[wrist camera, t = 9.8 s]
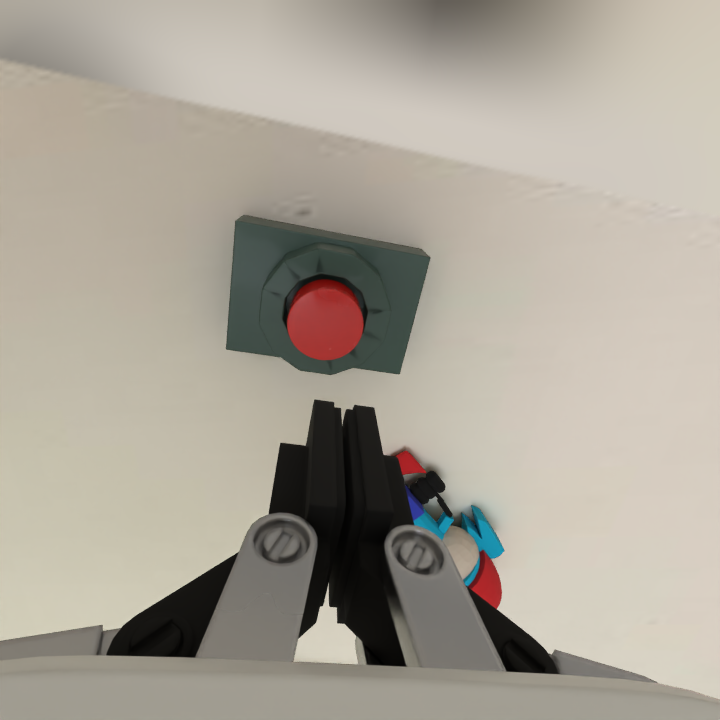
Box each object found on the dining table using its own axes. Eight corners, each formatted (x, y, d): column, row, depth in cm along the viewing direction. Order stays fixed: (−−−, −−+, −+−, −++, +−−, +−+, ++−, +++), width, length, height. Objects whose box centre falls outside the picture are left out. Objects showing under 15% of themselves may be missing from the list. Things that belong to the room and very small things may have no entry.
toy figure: (331, 485, 33) (448, 603, 36) (329, 525, 28) (463, 657, 32) (408, 426, 32) (521, 553, 35) (418, 457, 27) (548, 601, 31)
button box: (233, 334, 26) (218, 363, 22) (242, 214, 23) (227, 225, 19) (394, 358, 27) (404, 389, 24) (422, 248, 24) (439, 265, 21)
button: (285, 340, 22) (282, 354, 21) (294, 273, 21) (292, 282, 19) (353, 350, 23) (355, 365, 21) (367, 285, 21) (370, 296, 20)
